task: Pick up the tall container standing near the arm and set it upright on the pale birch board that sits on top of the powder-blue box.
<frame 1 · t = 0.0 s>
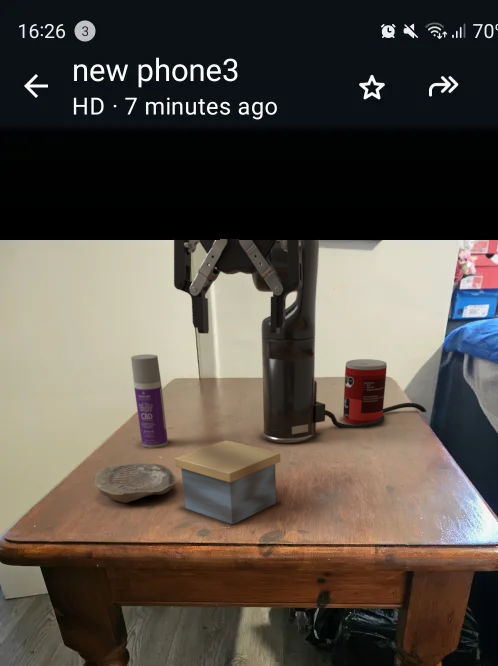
hand: (238, 333, 67), 22 cm above the table, tool pointing down, fingers open, 8 cm apart
container: (155, 445, 107), on the table
board box: (230, 505, 81), on the table
fossil: (138, 495, 86), on the table
canned food: (362, 421, 118), on the table
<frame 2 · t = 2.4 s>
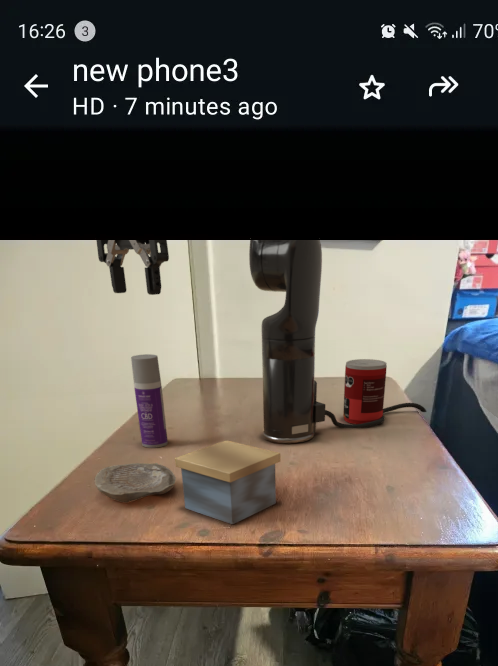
hand: (136, 293, 94), 24 cm above the table, tool pointing down, fingers open, 8 cm apart
nothing on the table moved.
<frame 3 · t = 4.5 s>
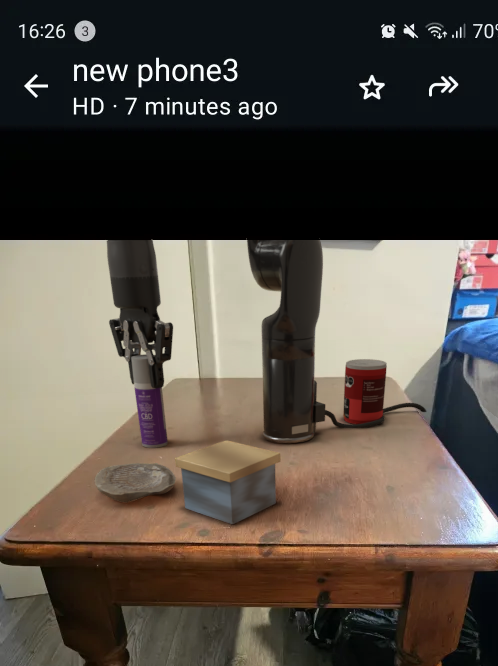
hand: (147, 385, 101), 10 cm above the table, tool pointing down, fingers closed on container, 4 cm apart
container: (155, 445, 107), on the table, touching gripper
everything else where it was.
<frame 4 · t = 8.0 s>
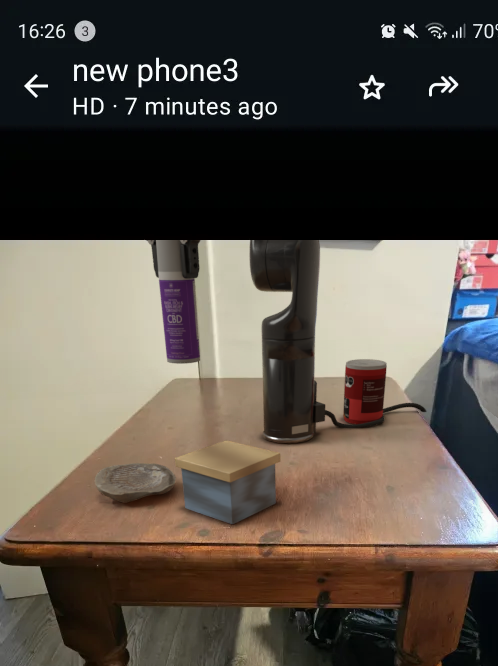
hand: (176, 277, 77), 28 cm above the table, tool pointing down, fingers closed on container, 4 cm apart
container: (183, 362, 82), point 17 cm above the table, touching gripper
everything else where it was.
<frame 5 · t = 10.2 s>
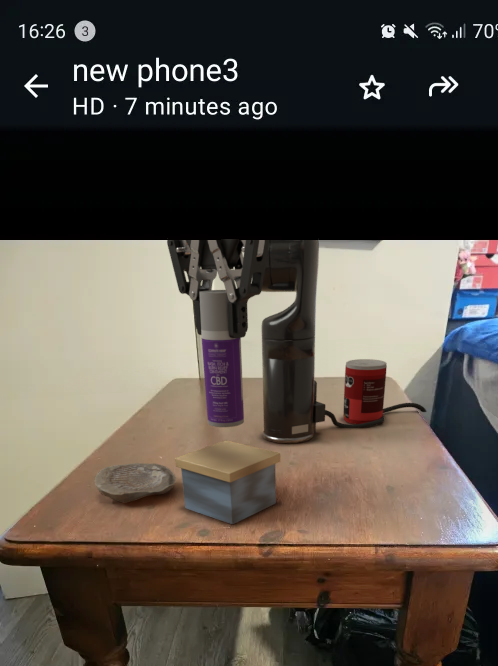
hand: (221, 335, 70), 22 cm above the table, tool pointing down, fingers closed on container, 4 cm apart
container: (226, 423, 75), point 11 cm above the table, touching gripper
everything else where it was.
when the fingers open (18 cm above the table, at t = 11.7 s): container stays where it is, resting on board box.
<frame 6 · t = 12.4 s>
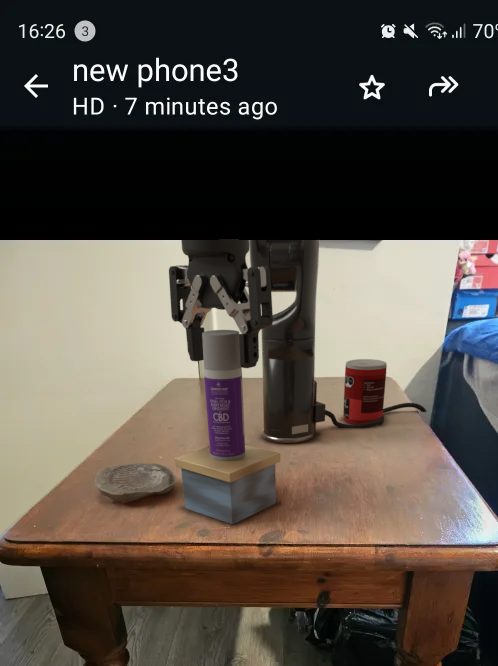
hand: (222, 363, 71), 19 cm above the table, tool pointing down, fingers open, 8 cm apart
container: (227, 456, 77), point 7 cm above the table, touching board box
everything else where it was.
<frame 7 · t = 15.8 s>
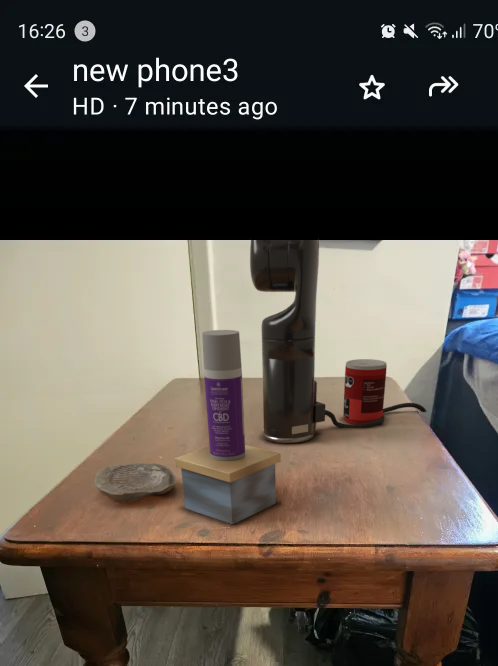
hand: (228, 197, 74), 36 cm above the table, tool pointing down, fingers open, 8 cm apart
nothing on the table moved.
at the end: container inside the target area on the board box (0.0 cm from its centre), point 7.0 cm above the board box's base; container tilted 0°; the gripper is holding nothing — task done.
